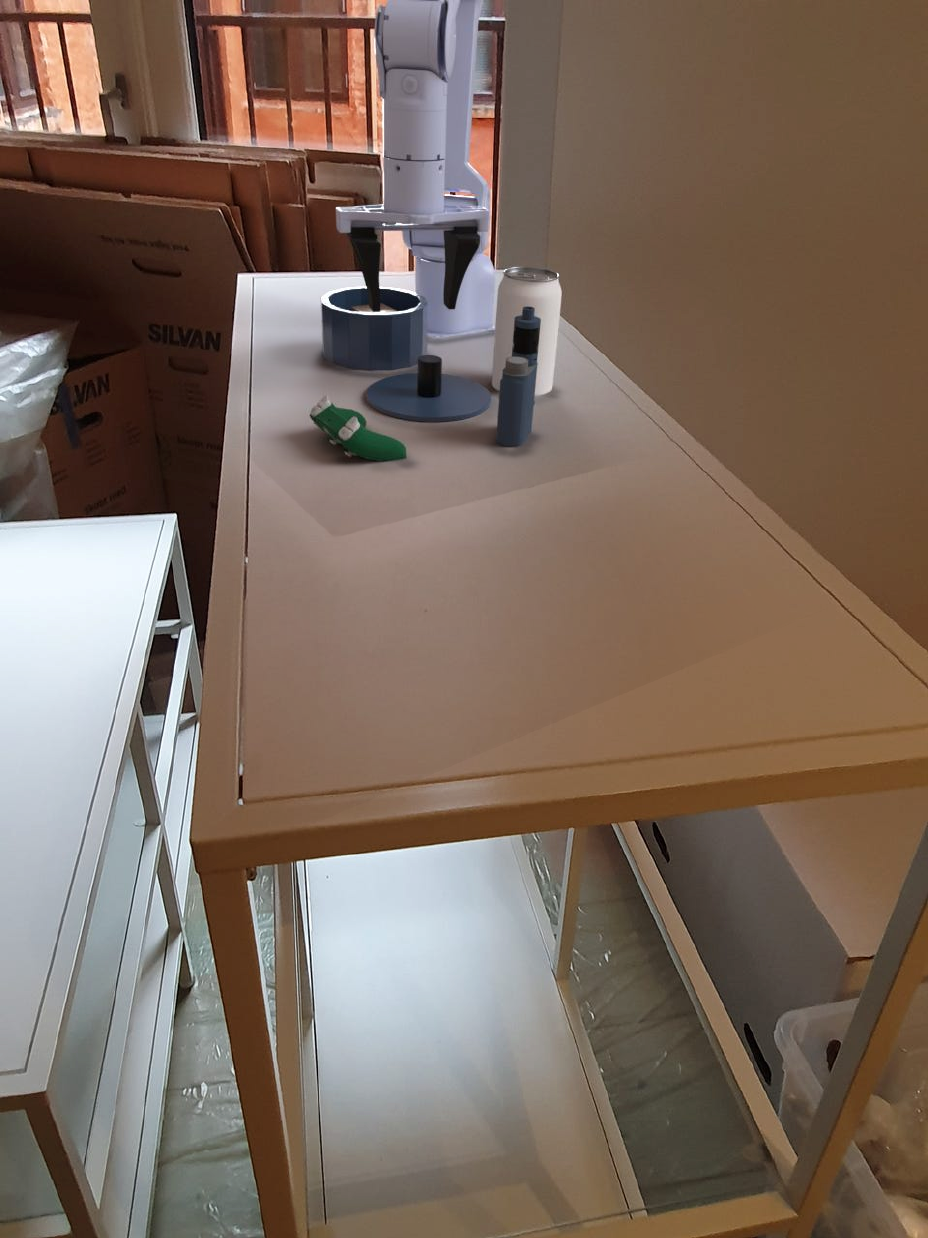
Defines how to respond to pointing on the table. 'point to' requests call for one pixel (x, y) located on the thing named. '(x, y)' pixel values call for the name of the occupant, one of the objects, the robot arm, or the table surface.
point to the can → (545, 297)
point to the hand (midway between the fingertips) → (412, 307)
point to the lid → (428, 394)
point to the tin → (374, 329)
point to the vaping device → (519, 382)
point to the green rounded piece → (355, 433)
